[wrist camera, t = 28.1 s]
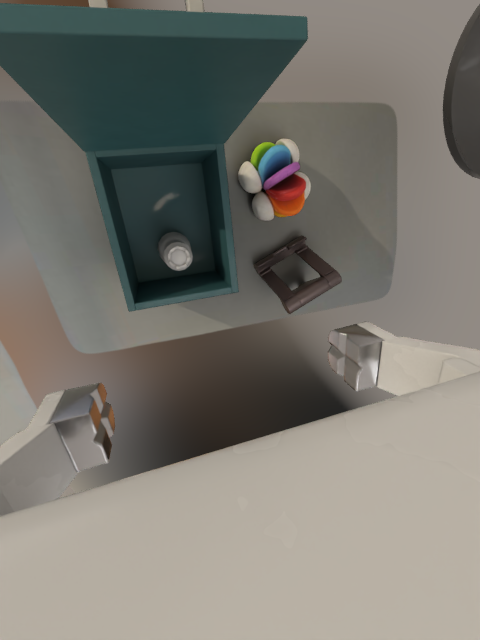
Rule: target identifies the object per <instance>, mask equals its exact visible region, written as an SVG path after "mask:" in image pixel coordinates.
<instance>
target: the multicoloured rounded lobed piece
mask: <svg viewBox="0 0 480 640" xmlns="http://www.w3.org/2000/svg"><path fill="white" fill-rule="evenodd" d="M298 161H299V150H298V147H297V145H296V144H295V143H294V142H293V141H292V140H289V139H280V140H278V141H277V142H276V145H275V144H273V143H270V142H265V143H261V144H260V145H258V146H257V147H256V148H255V149H254V151H253V153H252V156H251V162H248V161H246V162H244V163H243V164H242V166H241V167H240V170H239V174H238V178H239V182H240V184H241V186H242V187H243V189H244V190H245V191H247V192H250V193H257V194H256V195H255V196H254V198H253V201H252V209H253V212H254V214H255V215H256V216H257V218H259V219H261V220H264V221H268V220H272V219H273V218H274V215H275V216H277V217H286V216H292V215H296V214H297V213H298V212H300V210H301V209H302V207H303V205H304V201H305V199H306V198H307V197H308V195H309V193H310V189H311V184H310V180H309V178H308V177H307V176H306V175H305V174H304V173H302V172H297V171H298V170H299V169H300V164H299V163H298ZM262 187H263V188H264V190H266V191H265V192H261V189H262Z"/></svg>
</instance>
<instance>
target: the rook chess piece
mask: <svg viewBox="0 0 480 640" xmlns="http://www.w3.org/2000/svg"><path fill="white" fill-rule="evenodd" d="M158 252H159V256H160V257H161V258H162V260H163V261H164V262H165V263H166V264H167V265H168V267H170V268H171V269H173V270H178V271H180V270H184V269H186V268H187V267H189V266H190V264H191V262H192V257H193V255H192V251H191V246H190V242H189V241H188V239H187V238H186V237H185V236H184V235H182V234H181V233H177V232H171V233H167V234H165V235H164V236H163V237H161V239H160V241H159V243H158Z"/></svg>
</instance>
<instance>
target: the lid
mask: <svg viewBox="0 0 480 640" xmlns="http://www.w3.org/2000/svg"><path fill="white" fill-rule="evenodd" d="M88 1H89V6H90V7H76V6H75V7H74V6H53V5H30V4H7V3H0V66H1V67H2V68H3V69H4V70H5V71H6V72H7V73H8V74H9V75H10V76H11V77H12V78H13V79H14V80H15V81H16V82H17V83H18V84H19V85H20V86H21V87H22V88H23V89H24V90H25V91H26V92H27V93H28V94H29V95H30V97H31V98H32V99H33V100H34V101H35V102H36V103H37V104H38V105H39V106H40V107H41V108H42V109H43V110H44V111H45V112H46V113H47V114H48V115H49V116H50V117H51V118H52V119H53V120H54V121H55V122H56V123H57V124H58V125H59V126H60V127H61V128H62V129H63V130H64V131H65V132H66V133H67V134H68V135H69V136H70V137H71V138H72V139H73V140H74V141H75V143H76V144H77V145H78V146H79V147H80V148H81V149H82V150H83V151H85V152H86V151H103V150H120V149H136V148H153V147H170V146H187V145H204V144H221V143H225V142H226V141H227V140H228V139H229V137H230V136H231V135H232V134H233V132H234V131H235V130H236V129H237V127H238V126H239V125H240V124H241V122H242V121H243V120H244V119H245V117H246V116H247V115H248V114H249V112H250V111H251V110H252V109H253V107H254V106H255V105H256V104H257V102H258V101H259V100H260V99H261V97H262V96H263V95H264V94H265V92H266V91H267V90H268V89H269V87H270V86H271V85H272V84H273V82H274V81H275V80H276V78H277V77H278V76H279V75H280V74H281V72H282V71H283V70H284V69H285V67H286V66H287V65H288V64H289V62H290V61H291V60H292V59H293V57H294V56H295V55H296V54H297V52H298V51H299V50H300V49H301V47H302V46H303V45H304V43H305V42H306V41H307V39H308V36H307V35H308V31H307V17H304V16H303V17H302V16H281V15H259V14H236V13H213V12H204V4H203V0H185V5H186V11H167V10H144V9H121V8H108V3H107V0H88Z"/></svg>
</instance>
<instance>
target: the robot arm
mask: <svg viewBox="0 0 480 640" xmlns="http://www.w3.org/2000/svg"><path fill="white" fill-rule="evenodd" d="M328 341H329V343H330V344H331V345H332V346H331V348H330V349H329V351H328V361H329V364H330V366H331V368H332V370H333V371H334V372H335V373H336V374H338V375H341V376H344V381H345V382H346V383H347V384H348V385H350V387H352V388H353V389H354V390H355V391H359V390H363V389H367V388H371V387H375V386H377V387H378V388H380V389H382V390H385V391H387V392H390V393H392V394H395V395H397V397H393V398H390V399H387V400H383V401H380V402H377V403H373V404H370V405H367V406H363V407H360V408H357V409H354V410H351V411H347V412H344V413H340V414H337V415H334V416H331V417H327V418H324V419H321V420H317V421H314V422H310V423H307V424H304V425H301V426H298V427H294V428H291V429H287V430H284V431H281V432H277V433H274V434H271V435H268V436H264V437H261V438H258V439H254V440H251V441H248V442H244V443H241V444H238V445H234V446H231V447H228V448H225V449H221V450H218V451H215V452H211V453H208V454H205V455H201V456H198V457H195V458H191V459H188V460H185V461H181V462H179V463H175V464H171V465H168V466H165V467H162V468H158V469H155V470H152V471H148V472H145V473H142V474H138V475H135V476H132V477H129V478H125V479H122V480H119V481H115V482H112V483H109V484H105V485H102V486H99V487H96V488H92V489H89V490H85V491H83V492H79V493H75V494H72V495H69V496H66V497H62V498H59V497H60V496H61V494H62V493H63V492H64V490H65V489H66V488H67V487H68V485H69V484H70V483H71V481H72V480H73V479H74V478H75V476H76V475H77V472H80V471H83V470H86V469H89V468H92V467H95V466H99V465H102V464H105V463H108V462H109V457H110V452H111V447H112V444H111V441H110V437H111V436H112V435H113V434H114V428H115V422H114V414H113V410H112V407H111V405H110V404H109V403H107V402H105V399H106V395H107V393H106V390H105V387H104V385H103V384H102V383H96V384H92V385H87V386H82V387H77V388H73V389H68V390H62V391H58V392H54V393H50V394H48V395H46V396H45V398H44V400H43V401H42V403H41V405H40V407H39V408H38V410H37V412H36V414H35V415H34V417H33V419H32V420H31V422H30V424H29V426H28V427H27V429H26V430H23V431H20V432H18V433H17V434H16V435H14V436H13V437H11V438H10V439H9V440H7V441H6V442H5V443H3V444H2V445H0V640H480V350H478V349H472V348H465V347H460V346H454V345H448V344H443V343H437V342H431V341H424V340H419V339H413V338H407V337H396V336H395V335H393V334H391V333H389V332H387V331H385V330H383V329H381V328H379V327H378V326H376V325H374V324H372V323H370V322H362V323H358V324H354V325H350V326H346V327H343V328H339V329H335V330H332V331H330V333H329V339H328ZM58 498H59V499H58Z"/></svg>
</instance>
